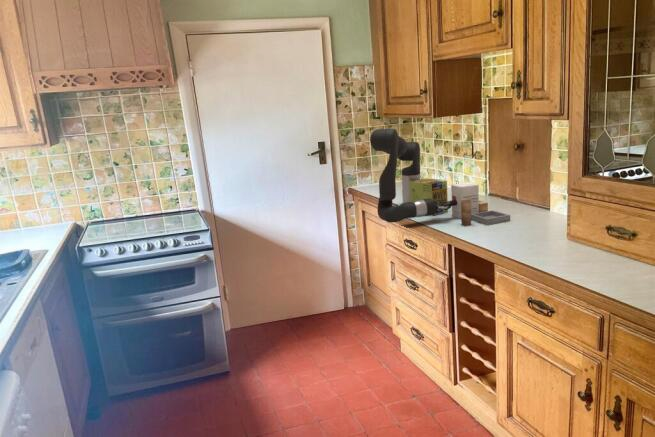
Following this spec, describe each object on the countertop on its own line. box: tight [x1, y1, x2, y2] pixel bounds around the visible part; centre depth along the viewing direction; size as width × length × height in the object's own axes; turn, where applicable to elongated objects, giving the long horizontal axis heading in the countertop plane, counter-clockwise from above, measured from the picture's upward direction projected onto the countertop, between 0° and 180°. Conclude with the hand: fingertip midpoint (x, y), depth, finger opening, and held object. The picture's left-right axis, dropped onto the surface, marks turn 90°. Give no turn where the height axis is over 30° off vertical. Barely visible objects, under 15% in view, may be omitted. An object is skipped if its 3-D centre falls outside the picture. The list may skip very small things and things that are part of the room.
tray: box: [471, 209, 511, 226], centre depth 226 cm, size 12×12×3 cm
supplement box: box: [450, 181, 480, 220], centre depth 235 cm, size 9×9×15 cm
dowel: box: [460, 199, 472, 227], centre depth 221 cm, size 4×4×11 cm
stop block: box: [479, 200, 489, 213], centre depth 238 cm, size 10×4×6 cm, turn 19°
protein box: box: [409, 177, 449, 217], centre depth 249 cm, size 10×15×16 cm
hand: (456, 202), depth 234 cm, fingers closed
